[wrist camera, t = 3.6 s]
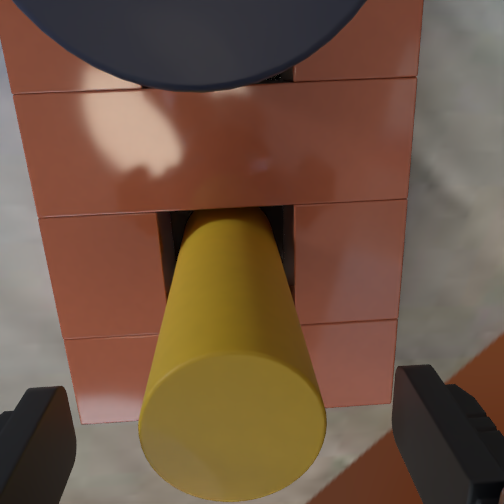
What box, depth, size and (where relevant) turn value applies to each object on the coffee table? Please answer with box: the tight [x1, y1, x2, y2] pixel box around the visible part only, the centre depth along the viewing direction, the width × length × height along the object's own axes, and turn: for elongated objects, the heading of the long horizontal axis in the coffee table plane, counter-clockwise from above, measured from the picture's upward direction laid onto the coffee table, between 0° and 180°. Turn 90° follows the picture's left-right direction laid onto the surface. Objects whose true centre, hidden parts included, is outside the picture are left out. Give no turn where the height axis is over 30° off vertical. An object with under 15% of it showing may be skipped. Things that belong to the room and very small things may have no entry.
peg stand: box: [0, 0, 424, 425], centre depth 19 cm, size 24×14×4 cm, turn 2°
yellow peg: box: [138, 207, 327, 502], centre depth 17 cm, size 4×4×13 cm
